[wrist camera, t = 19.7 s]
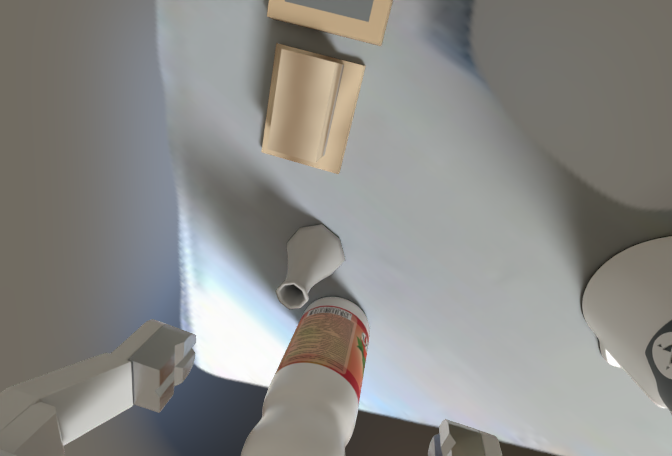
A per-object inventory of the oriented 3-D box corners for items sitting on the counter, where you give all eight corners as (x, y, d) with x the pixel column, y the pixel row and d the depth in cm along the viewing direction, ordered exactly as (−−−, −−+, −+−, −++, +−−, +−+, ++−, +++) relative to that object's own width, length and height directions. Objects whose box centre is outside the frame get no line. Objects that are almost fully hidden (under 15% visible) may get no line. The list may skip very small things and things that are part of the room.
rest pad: (365, 66, 33) (364, 65, 33) (339, 172, 38) (338, 174, 37) (279, 43, 34) (276, 43, 33) (264, 150, 39) (261, 152, 38)
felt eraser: (344, 64, 33) (336, 62, 29) (324, 154, 37) (315, 162, 33) (295, 52, 33) (281, 48, 30) (281, 142, 37) (267, 149, 34)
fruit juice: (334, 281, 44) (230, 553, 19) (385, 328, 45) (353, 641, 20) (290, 319, 48) (154, 585, 22) (338, 361, 49) (261, 658, 24)
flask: (278, 239, 43) (243, 281, 34) (324, 213, 40) (300, 252, 31) (309, 283, 45) (284, 334, 36) (355, 261, 42) (341, 311, 33)
